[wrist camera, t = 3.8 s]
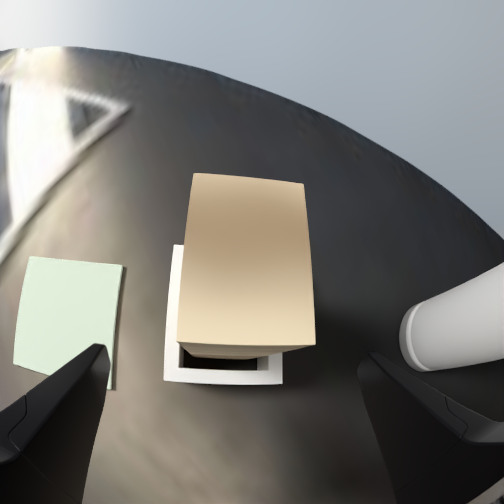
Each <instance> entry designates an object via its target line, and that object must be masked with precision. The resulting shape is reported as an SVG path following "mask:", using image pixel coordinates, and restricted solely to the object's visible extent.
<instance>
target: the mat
mask: <svg viewBox="0 0 504 504" xmlns="http://www.w3.org/2000/svg"><path fill="white" fill-rule="evenodd" d="M122 271H123V266H122V265H115V264H104V263H93V262H82V261H72V260H62V259H52V258H43V257H34V256H30V257H29V261H28V265H27V269H26V274H25V278H24V283H23V288H22V293H21V299H20V305H19V311H18V318H17V326H16V335H15V346H14V362H13V364H16V365H19V366H22V367H25V368H28V369H31V370H34V371H37V372H40V373H43V374H47V375H51V374H53V373H54V372H55V371H57V370H58V369H59V368H61V367H62V366H63V365H65V364H66V363H67V362H69V361H70V360H72V359H73V358H74V357H76V356H77V355H78V354H80V353H81V352H82V351H84V350H85V349H87V348H88V347H89V346H91V345H92V344H94V343H99V344H104V345H106V347H107V350H108V354H109V358H110V362H111V369H110V374H109V379H108V385H107V389H110V390H111V389H112V366H113V349H114V336H115V325H116V315H117V306H118V298H119V291H120V284H121V277H122Z"/></svg>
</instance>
